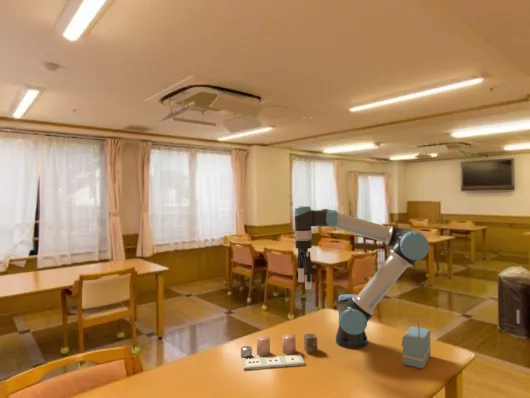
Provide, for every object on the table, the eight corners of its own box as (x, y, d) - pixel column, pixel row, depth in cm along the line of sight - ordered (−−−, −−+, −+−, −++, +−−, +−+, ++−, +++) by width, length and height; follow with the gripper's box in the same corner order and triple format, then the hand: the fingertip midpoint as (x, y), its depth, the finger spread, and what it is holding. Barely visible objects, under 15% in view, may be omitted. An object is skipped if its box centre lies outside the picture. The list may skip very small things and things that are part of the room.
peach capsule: (294, 348, 164) (293, 333, 164) (296, 354, 158) (296, 338, 158) (281, 349, 163) (281, 334, 163) (284, 355, 157) (283, 339, 157)
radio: (409, 351, 158) (408, 307, 158) (430, 356, 153) (429, 311, 153) (400, 365, 145) (399, 317, 145) (423, 371, 140) (422, 321, 140)
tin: (251, 354, 159) (251, 345, 159) (252, 359, 154) (252, 350, 154) (240, 355, 158) (240, 346, 158) (241, 360, 153) (241, 350, 153)
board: (300, 356, 155) (300, 353, 155) (304, 365, 147) (304, 362, 147) (242, 361, 152) (242, 358, 152) (243, 370, 144) (243, 367, 144)
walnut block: (314, 348, 163) (314, 333, 163) (317, 352, 158) (317, 337, 159) (304, 349, 163) (303, 334, 163) (306, 353, 158) (306, 338, 158)
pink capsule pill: (269, 350, 162) (268, 335, 162) (270, 356, 156) (270, 340, 156) (256, 351, 162) (256, 336, 162) (257, 357, 156) (257, 341, 156)
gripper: (290, 237, 172) (291, 279, 172) (301, 243, 148) (303, 292, 148) (304, 236, 173) (306, 278, 173) (318, 242, 149) (320, 291, 148)
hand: (304, 285), depth 160 cm, fingers open, 13 cm apart
